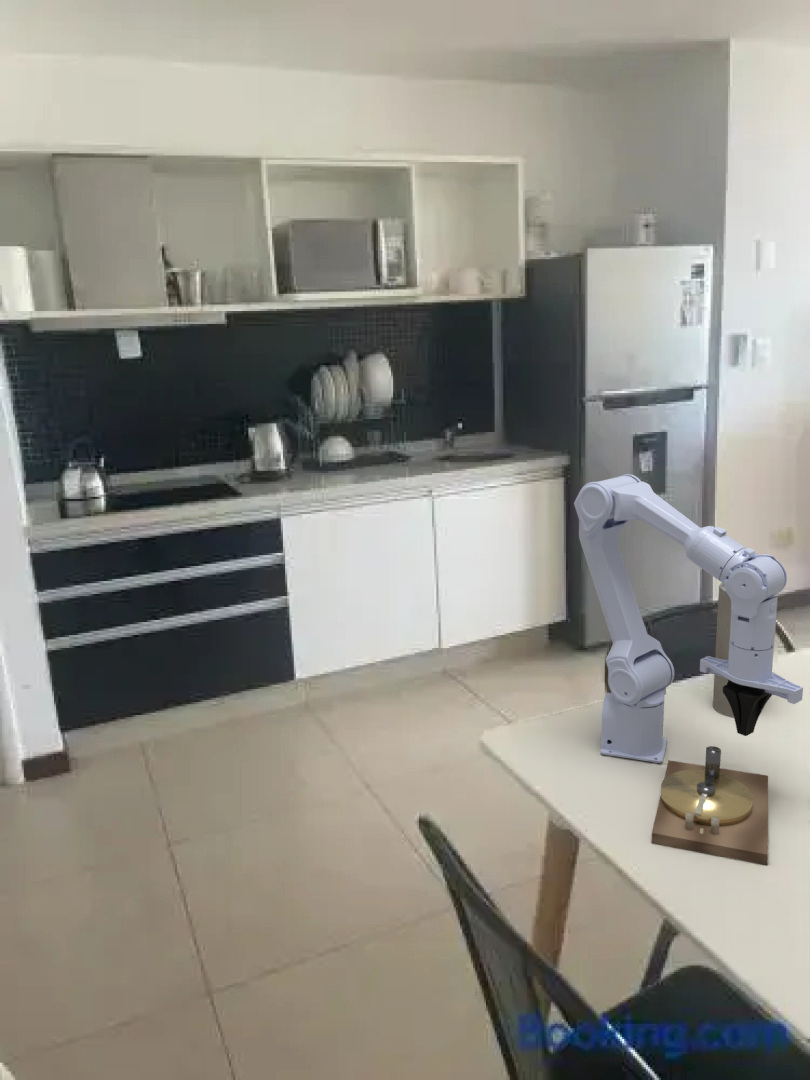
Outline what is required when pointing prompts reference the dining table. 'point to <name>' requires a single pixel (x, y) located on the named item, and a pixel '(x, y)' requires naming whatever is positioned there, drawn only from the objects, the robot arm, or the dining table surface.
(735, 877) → the dining table surface
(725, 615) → the thermos bottle
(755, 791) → the walnut stand
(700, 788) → the dial
